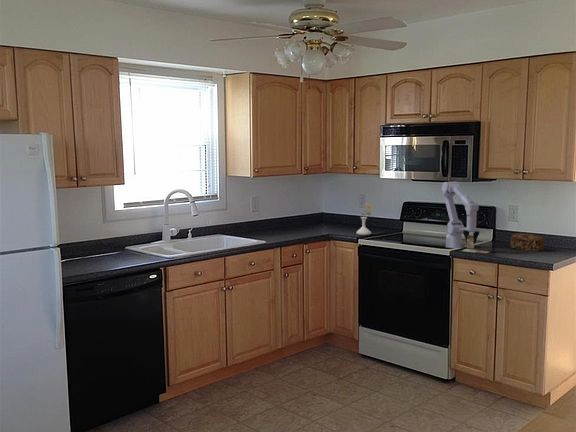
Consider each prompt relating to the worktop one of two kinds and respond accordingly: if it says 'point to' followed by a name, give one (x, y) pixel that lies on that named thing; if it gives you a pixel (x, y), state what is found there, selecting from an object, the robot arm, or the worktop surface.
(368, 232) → the flower in vase
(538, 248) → the bread
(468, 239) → the brown wooden box
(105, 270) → the worktop surface
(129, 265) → the worktop surface
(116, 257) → the worktop surface
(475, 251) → the mat
